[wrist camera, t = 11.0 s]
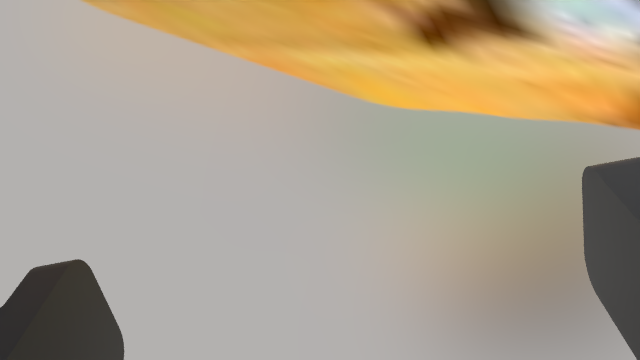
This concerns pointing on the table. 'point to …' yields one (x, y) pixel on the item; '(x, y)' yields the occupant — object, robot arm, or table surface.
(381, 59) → the table surface
